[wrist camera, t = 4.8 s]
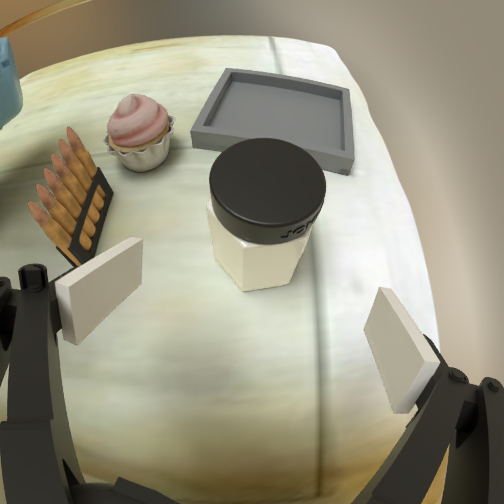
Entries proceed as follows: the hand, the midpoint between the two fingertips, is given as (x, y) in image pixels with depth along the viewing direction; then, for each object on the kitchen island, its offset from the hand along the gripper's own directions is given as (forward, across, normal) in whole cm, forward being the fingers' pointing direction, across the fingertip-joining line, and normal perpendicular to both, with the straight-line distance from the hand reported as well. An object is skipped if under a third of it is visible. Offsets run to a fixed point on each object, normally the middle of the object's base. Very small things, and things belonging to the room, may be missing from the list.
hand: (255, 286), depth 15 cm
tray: (+30, -2, +12) cm, 33 cm away
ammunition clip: (+14, -20, -4) cm, 25 cm away
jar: (+15, -1, -3) cm, 15 cm away
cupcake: (+23, -18, +4) cm, 29 cm away
